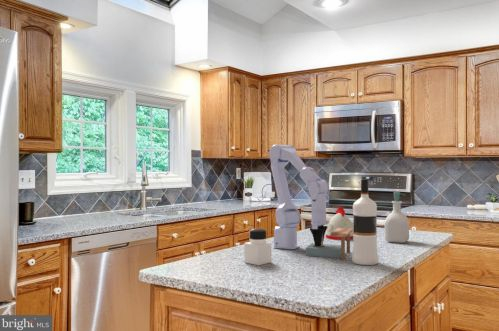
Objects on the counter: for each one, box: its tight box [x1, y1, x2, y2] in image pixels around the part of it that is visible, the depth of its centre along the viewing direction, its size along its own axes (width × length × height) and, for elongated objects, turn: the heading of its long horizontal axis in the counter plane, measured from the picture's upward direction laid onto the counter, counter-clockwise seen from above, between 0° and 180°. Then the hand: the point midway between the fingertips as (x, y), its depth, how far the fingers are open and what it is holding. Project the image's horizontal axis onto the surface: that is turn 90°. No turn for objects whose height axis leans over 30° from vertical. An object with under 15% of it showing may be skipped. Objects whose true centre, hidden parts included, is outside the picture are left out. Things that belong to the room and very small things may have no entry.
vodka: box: [351, 178, 380, 266], centre depth 154 cm, size 9×9×30 cm
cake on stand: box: [325, 206, 354, 241], centre depth 208 cm, size 14×14×15 cm
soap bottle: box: [384, 191, 410, 244], centre depth 196 cm, size 10×10×23 cm
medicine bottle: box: [243, 228, 272, 266], centre depth 156 cm, size 7×7×12 cm
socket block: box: [305, 242, 341, 259], centre depth 169 cm, size 13×10×3 cm
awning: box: [330, 228, 352, 260], centre depth 167 cm, size 6×14×10 cm, turn 158°
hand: (318, 245), depth 170 cm, fingers closed on birch peg, 3 cm apart
